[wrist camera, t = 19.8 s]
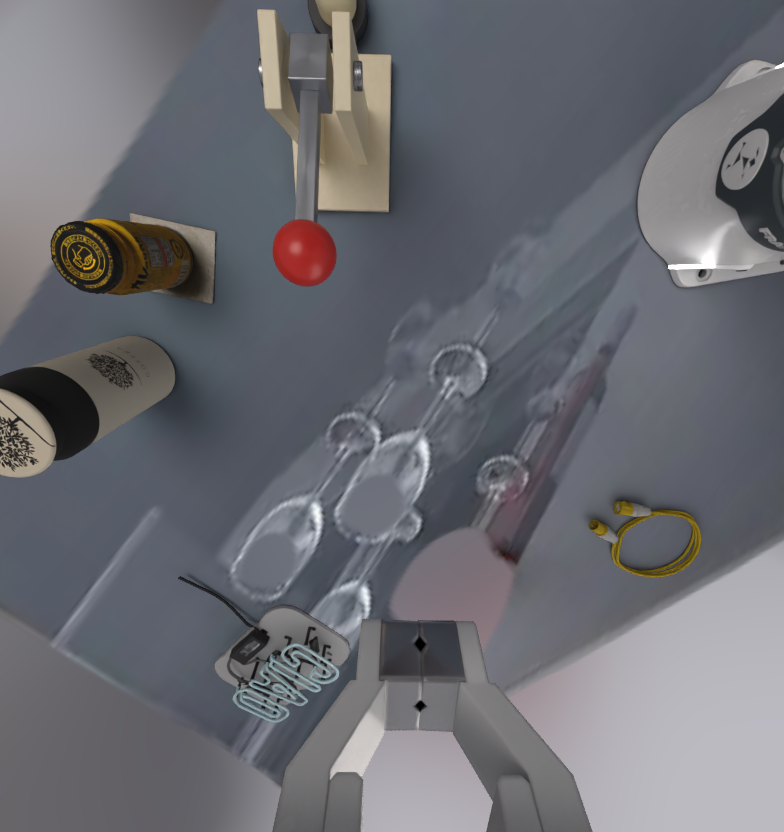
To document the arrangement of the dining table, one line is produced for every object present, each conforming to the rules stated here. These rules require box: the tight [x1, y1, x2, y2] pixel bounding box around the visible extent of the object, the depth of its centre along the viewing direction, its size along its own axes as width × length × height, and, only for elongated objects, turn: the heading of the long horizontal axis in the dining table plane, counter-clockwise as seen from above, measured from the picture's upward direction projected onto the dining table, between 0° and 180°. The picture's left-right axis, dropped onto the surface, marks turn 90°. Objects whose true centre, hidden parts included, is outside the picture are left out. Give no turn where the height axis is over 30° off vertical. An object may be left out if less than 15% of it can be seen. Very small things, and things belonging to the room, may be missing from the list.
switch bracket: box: [257, 9, 391, 212], centre depth 30 cm, size 12×9×17 cm
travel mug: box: [0, 336, 175, 477], centre depth 38 cm, size 8×8×18 cm
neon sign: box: [178, 577, 349, 723], centre depth 61 cm, size 21×4×29 cm
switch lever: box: [273, 33, 337, 287], centre depth 23 cm, size 14×4×4 cm, turn 179°
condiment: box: [51, 213, 215, 304], centre depth 36 cm, size 7×8×12 cm
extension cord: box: [589, 501, 701, 577], centre depth 54 cm, size 12×16×2 cm
